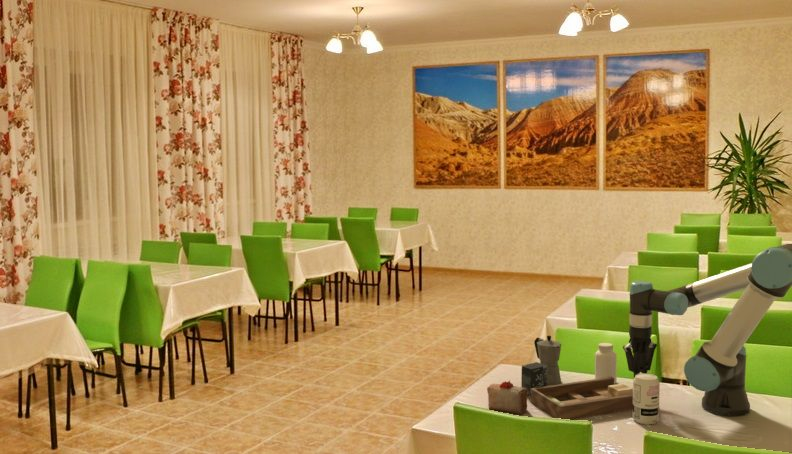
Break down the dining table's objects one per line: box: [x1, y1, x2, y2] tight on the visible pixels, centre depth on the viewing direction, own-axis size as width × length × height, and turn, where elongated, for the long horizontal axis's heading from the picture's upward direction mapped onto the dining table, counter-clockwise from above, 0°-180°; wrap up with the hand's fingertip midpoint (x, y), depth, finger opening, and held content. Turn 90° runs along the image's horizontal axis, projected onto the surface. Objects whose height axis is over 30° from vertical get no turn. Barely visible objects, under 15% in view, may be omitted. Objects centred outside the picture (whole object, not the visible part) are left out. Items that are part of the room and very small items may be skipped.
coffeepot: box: [533, 335, 562, 386], centre depth 285 cm, size 15×9×18 cm, turn 26°
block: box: [608, 383, 633, 397], centre depth 259 cm, size 6×6×4 cm
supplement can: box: [632, 373, 661, 426], centre depth 242 cm, size 8×8×15 cm
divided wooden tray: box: [530, 377, 633, 420], centre depth 259 cm, size 20×34×5 cm, turn 109°
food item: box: [486, 379, 528, 415], centre depth 256 cm, size 14×8×10 cm, turn 60°
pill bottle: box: [594, 342, 618, 385], centre depth 281 cm, size 8×8×15 cm
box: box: [521, 361, 548, 397], centre depth 272 cm, size 8×6×11 cm
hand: (639, 390), depth 261 cm, fingers closed
